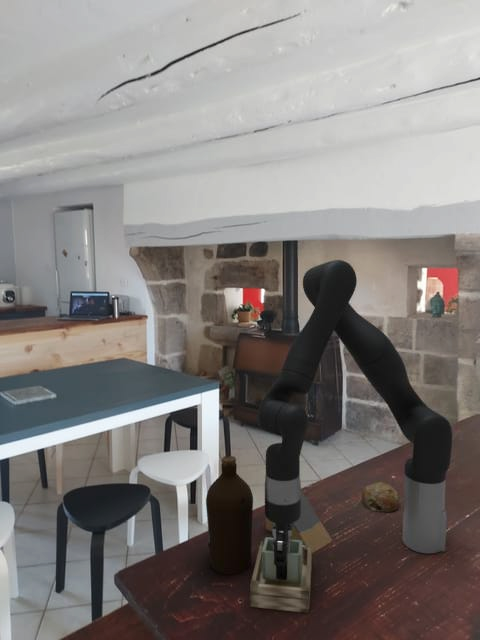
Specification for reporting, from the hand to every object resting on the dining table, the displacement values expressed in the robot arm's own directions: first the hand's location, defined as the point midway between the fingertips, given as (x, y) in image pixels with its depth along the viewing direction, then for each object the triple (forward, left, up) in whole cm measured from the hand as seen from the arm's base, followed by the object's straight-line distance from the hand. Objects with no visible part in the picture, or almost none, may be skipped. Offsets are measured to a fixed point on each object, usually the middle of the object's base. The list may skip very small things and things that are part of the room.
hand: (283, 569), depth 106 cm
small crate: (0, 0, -1) cm, 1 cm away
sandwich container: (-2, -20, -4) cm, 20 cm away
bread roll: (-24, -39, -4) cm, 46 cm away
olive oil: (+13, -6, -4) cm, 15 cm away
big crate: (0, 0, -3) cm, 3 cm away
